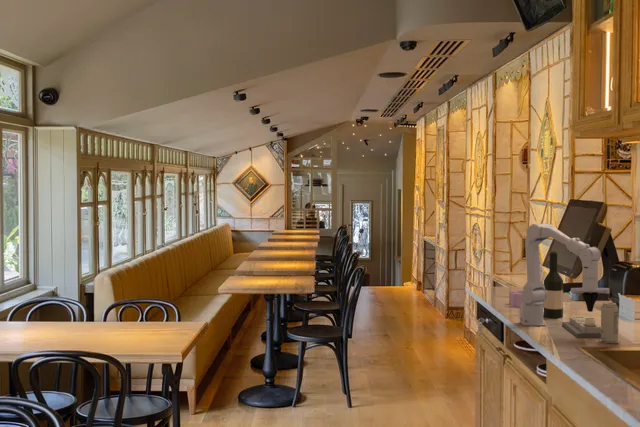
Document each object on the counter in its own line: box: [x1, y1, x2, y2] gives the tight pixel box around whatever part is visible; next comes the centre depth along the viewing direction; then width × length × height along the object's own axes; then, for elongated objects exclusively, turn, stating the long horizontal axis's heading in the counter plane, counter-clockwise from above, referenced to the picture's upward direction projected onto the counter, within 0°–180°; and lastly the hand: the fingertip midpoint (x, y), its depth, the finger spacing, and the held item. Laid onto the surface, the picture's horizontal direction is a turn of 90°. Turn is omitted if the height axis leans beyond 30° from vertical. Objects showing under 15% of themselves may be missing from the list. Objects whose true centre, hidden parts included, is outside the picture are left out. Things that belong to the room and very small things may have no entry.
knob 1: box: [574, 316, 585, 319], centre depth 282 cm, size 4×4×3 cm
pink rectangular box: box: [508, 289, 544, 309], centre depth 332 cm, size 20×12×7 cm, turn 81°
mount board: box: [561, 316, 601, 339], centre depth 275 cm, size 12×22×4 cm, turn 175°
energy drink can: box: [600, 301, 619, 344], centre depth 257 cm, size 6×6×15 cm
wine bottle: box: [543, 250, 564, 319], centre depth 305 cm, size 8×8×30 cm
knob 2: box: [585, 317, 596, 326], centre depth 268 cm, size 4×4×3 cm
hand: (589, 311), depth 268 cm, fingers closed
